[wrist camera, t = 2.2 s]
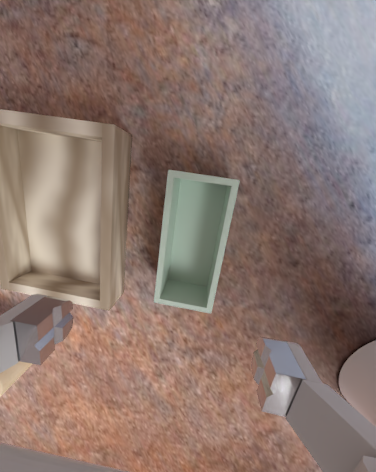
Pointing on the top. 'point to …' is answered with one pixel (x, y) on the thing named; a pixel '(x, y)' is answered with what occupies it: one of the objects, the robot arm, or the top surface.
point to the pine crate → (63, 207)
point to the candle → (12, 375)
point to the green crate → (193, 239)
